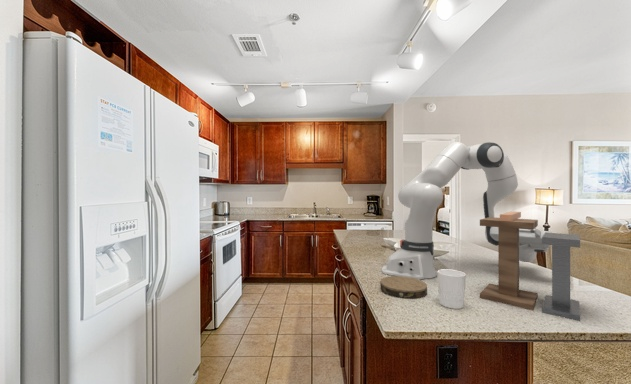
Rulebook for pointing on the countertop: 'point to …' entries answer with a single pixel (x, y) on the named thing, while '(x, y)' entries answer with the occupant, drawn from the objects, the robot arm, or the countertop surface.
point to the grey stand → (561, 276)
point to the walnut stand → (509, 264)
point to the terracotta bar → (510, 216)
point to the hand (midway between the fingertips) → (517, 227)
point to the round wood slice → (403, 287)
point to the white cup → (451, 288)
